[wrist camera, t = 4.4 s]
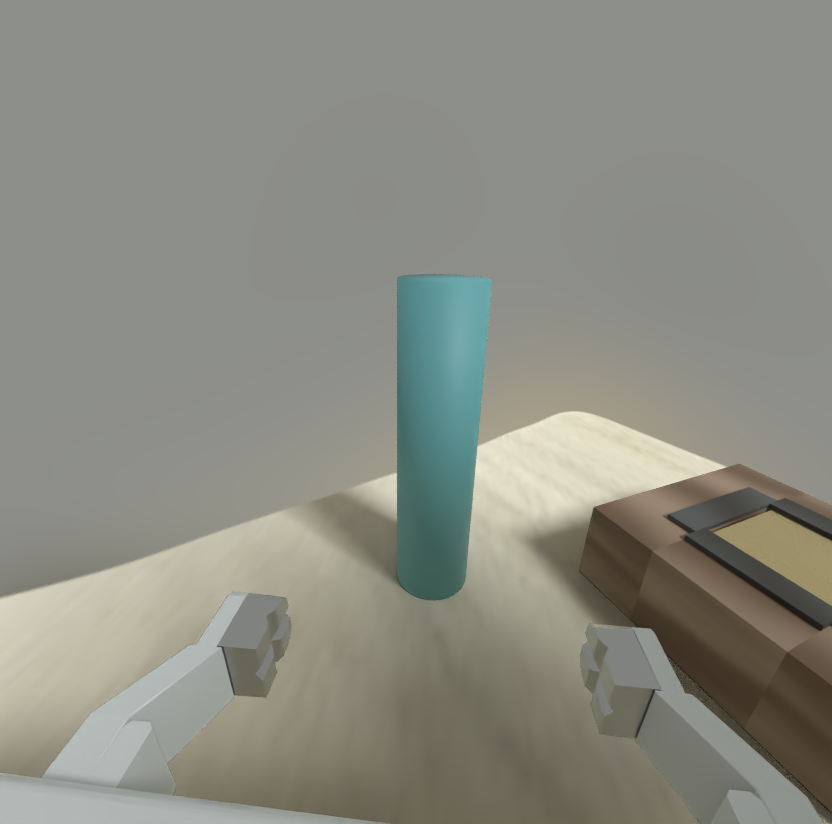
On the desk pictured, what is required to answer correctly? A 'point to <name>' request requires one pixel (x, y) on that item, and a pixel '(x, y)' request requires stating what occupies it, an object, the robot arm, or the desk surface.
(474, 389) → the peg
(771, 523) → the tan square plate
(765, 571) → the socket block
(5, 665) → the desk surface
